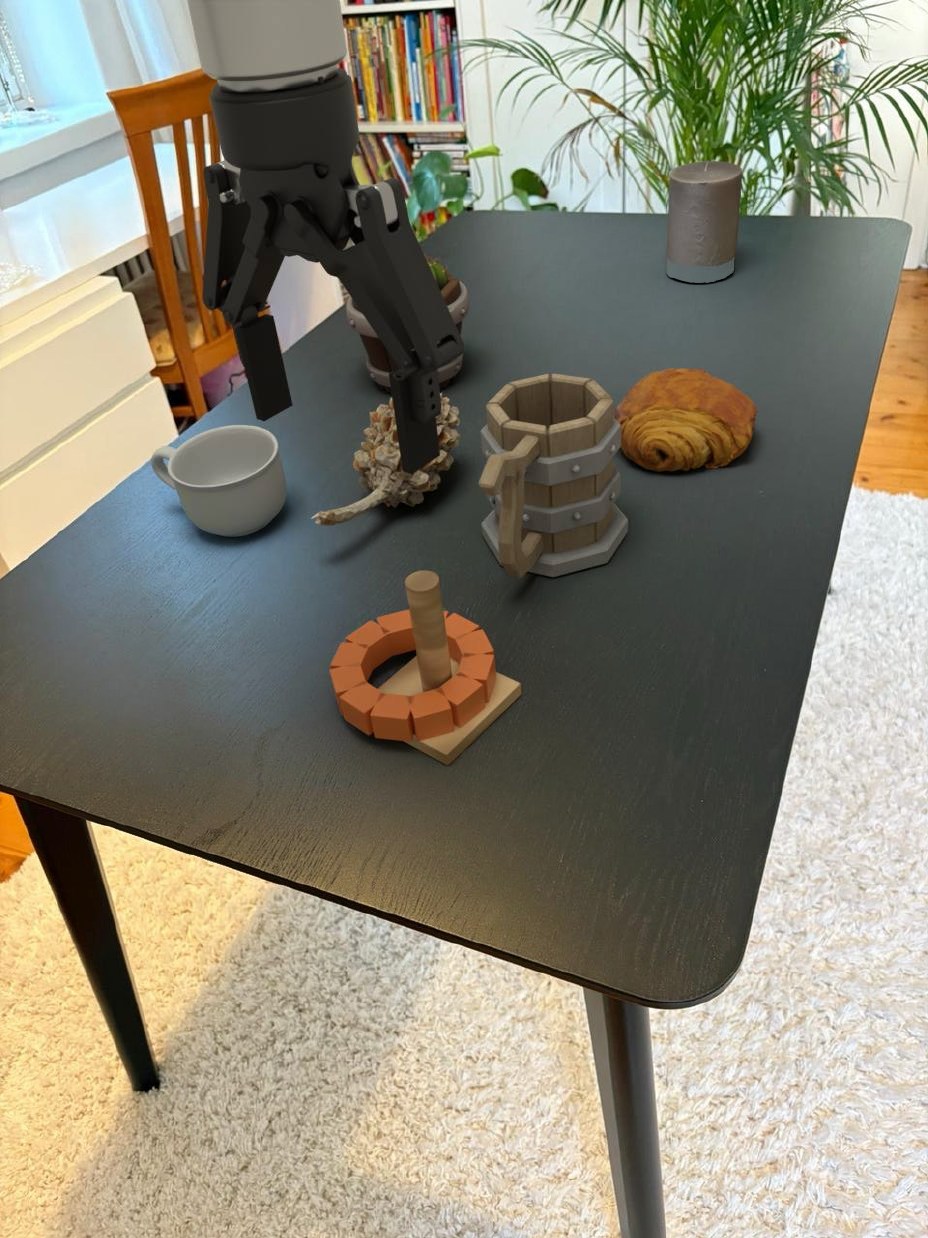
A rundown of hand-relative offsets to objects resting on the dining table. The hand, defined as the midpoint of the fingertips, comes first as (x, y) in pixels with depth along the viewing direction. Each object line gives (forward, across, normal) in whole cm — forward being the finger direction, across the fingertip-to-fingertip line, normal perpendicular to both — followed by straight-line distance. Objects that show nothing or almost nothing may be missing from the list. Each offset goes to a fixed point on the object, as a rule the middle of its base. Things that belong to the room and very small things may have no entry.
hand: (344, 436), depth 64 cm
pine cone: (+22, +17, -19) cm, 34 cm away
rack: (+22, -5, 0) cm, 23 cm away
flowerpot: (+22, +35, -43) cm, 60 cm away
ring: (+21, -3, 0) cm, 21 cm away
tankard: (+22, 0, -20) cm, 30 cm away
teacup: (+22, +31, -9) cm, 39 cm away
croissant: (+22, -1, -45) cm, 50 cm away
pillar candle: (+22, +21, -89) cm, 94 cm away
